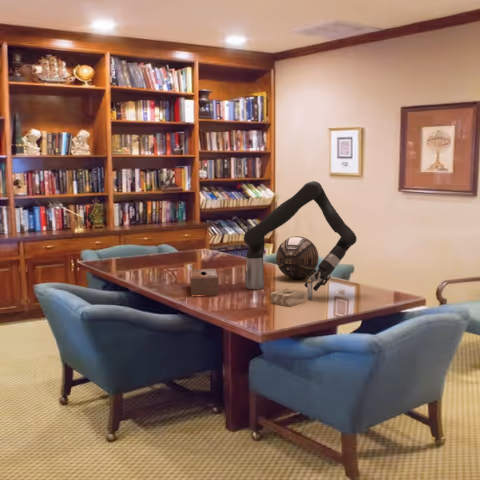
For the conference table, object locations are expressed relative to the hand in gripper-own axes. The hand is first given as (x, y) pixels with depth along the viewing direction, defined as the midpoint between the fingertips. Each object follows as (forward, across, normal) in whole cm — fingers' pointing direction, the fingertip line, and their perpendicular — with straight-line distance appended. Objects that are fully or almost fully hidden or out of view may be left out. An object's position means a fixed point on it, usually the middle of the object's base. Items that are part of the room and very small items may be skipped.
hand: (310, 288), depth 305 cm
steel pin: (+4, 0, +4) cm, 6 cm away
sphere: (-10, -49, +19) cm, 53 cm away
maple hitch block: (+13, 0, -5) cm, 14 cm away
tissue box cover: (+33, -46, -24) cm, 61 cm away
